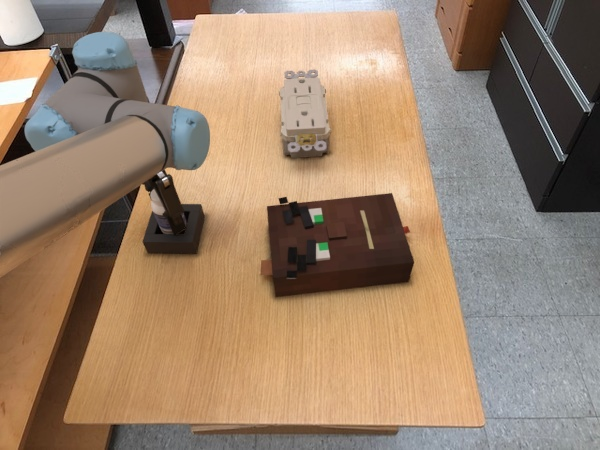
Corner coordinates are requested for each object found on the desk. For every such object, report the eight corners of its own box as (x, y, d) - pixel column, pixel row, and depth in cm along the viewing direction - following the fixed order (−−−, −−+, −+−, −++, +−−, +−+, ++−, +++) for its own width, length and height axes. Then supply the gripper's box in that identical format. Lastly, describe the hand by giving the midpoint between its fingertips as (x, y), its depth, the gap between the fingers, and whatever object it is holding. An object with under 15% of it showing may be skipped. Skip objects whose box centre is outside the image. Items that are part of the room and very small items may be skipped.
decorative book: (430, 263, 78) (258, 282, 77) (422, 286, 84) (263, 304, 83) (402, 184, 90) (254, 199, 89) (397, 209, 96) (258, 223, 95)
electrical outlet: (323, 95, 121) (323, 63, 113) (332, 174, 105) (334, 144, 96) (280, 97, 121) (277, 66, 113) (283, 177, 105) (280, 147, 96)
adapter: (196, 254, 90) (192, 242, 87) (148, 253, 91) (141, 241, 88) (205, 216, 96) (201, 203, 93) (159, 215, 97) (154, 203, 94)
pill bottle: (186, 234, 90) (174, 201, 82) (159, 237, 89) (145, 205, 82) (187, 213, 93) (175, 181, 85) (161, 217, 93) (147, 184, 85)
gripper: (184, 149, 69) (212, 239, 87) (130, 96, 78) (166, 188, 96) (140, 171, 66) (178, 260, 84) (89, 114, 75) (134, 205, 93)
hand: (171, 221), depth 90 cm, fingers closed on pill bottle, 5 cm apart
